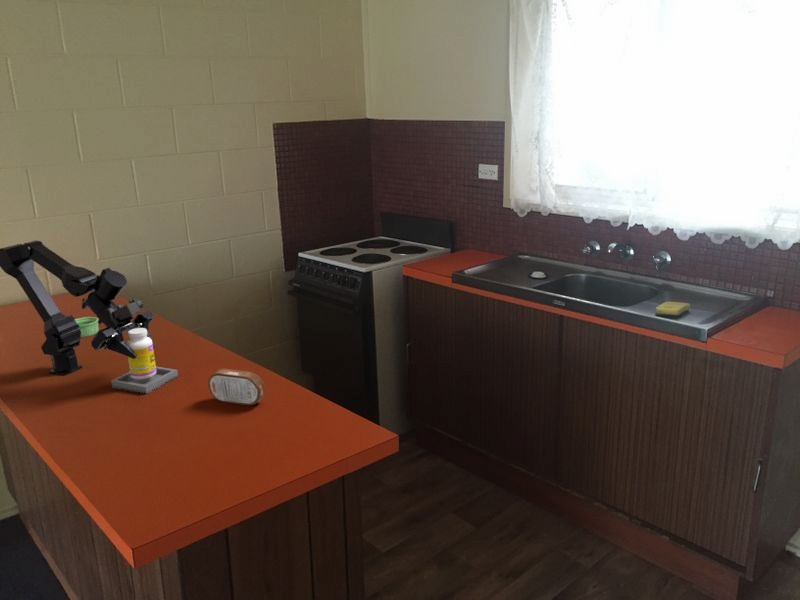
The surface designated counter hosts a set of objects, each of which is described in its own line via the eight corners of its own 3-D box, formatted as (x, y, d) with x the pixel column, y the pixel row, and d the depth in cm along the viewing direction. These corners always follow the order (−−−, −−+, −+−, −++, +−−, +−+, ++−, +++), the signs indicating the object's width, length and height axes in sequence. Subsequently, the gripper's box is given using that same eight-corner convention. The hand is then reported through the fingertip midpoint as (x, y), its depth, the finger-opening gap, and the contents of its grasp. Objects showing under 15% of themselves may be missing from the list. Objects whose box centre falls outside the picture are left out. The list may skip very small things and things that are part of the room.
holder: (112, 387, 182) (111, 380, 181) (145, 371, 192) (143, 364, 192) (146, 394, 177) (145, 387, 176) (178, 376, 187) (177, 369, 187)
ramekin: (105, 331, 228) (103, 319, 226) (81, 339, 220) (79, 327, 219) (89, 327, 232) (87, 315, 231) (65, 335, 225) (62, 323, 224)
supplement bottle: (156, 378, 182) (149, 333, 178) (129, 381, 180) (122, 336, 176) (157, 369, 188) (151, 325, 184) (132, 372, 186) (125, 328, 183)
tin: (267, 403, 169) (264, 371, 167) (260, 408, 166) (257, 376, 164) (215, 396, 174) (211, 366, 172) (208, 401, 171) (204, 370, 169)
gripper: (92, 301, 170) (133, 347, 170) (144, 282, 187) (182, 324, 186) (74, 328, 176) (113, 372, 175) (126, 306, 192) (162, 347, 191)
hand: (144, 353), depth 182 cm, fingers closed on supplement bottle, 6 cm apart
